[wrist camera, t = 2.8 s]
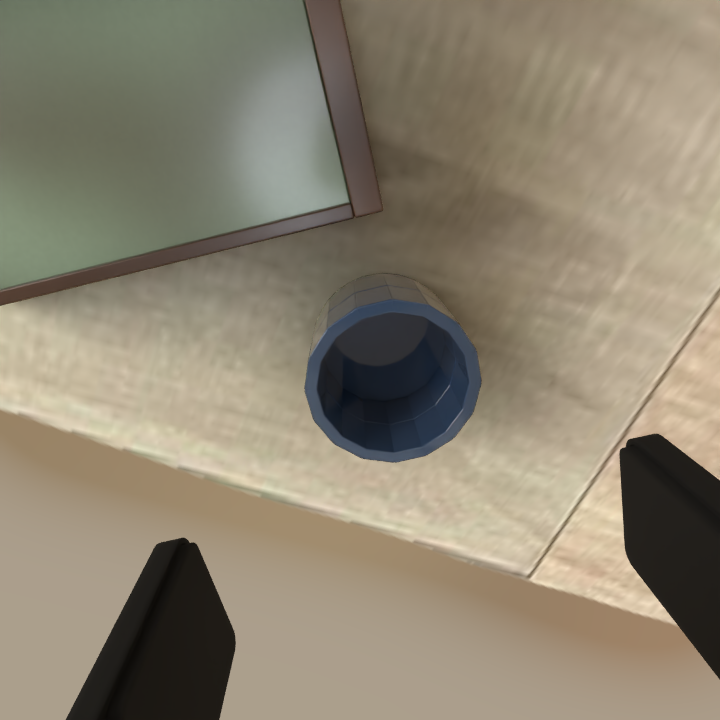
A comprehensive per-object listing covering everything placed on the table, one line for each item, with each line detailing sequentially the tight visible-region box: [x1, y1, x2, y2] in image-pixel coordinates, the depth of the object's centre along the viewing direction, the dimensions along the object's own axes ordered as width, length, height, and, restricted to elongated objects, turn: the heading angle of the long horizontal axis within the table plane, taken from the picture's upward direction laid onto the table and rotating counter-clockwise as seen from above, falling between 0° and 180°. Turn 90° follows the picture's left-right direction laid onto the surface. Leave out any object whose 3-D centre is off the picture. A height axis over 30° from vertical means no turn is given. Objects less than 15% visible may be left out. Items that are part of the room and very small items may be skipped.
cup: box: [305, 273, 482, 463], centre depth 22 cm, size 7×7×6 cm
